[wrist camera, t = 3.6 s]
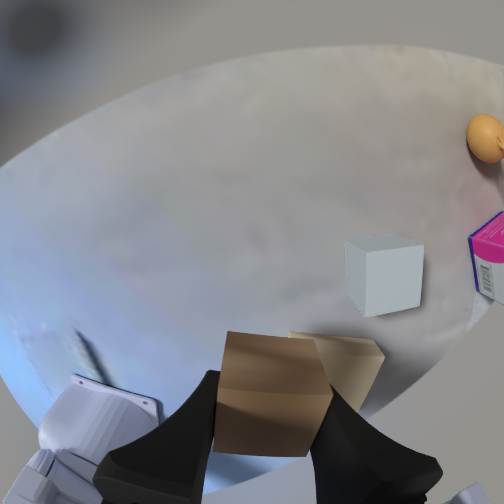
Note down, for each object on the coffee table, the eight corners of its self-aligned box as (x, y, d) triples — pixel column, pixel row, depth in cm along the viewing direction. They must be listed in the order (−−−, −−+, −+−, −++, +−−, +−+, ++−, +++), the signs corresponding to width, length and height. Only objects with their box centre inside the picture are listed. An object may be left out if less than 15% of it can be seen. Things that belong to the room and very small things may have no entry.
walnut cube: (221, 393, 13) (212, 451, 9) (227, 331, 12) (218, 387, 8) (295, 400, 13) (305, 456, 9) (313, 339, 12) (333, 394, 9)
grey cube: (345, 293, 19) (364, 317, 15) (344, 238, 18) (365, 252, 14) (393, 285, 19) (419, 306, 15) (394, 233, 18) (423, 244, 14)
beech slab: (269, 396, 22) (271, 420, 19) (288, 328, 20) (293, 350, 17) (344, 400, 22) (352, 422, 19) (371, 337, 20) (385, 357, 17)
